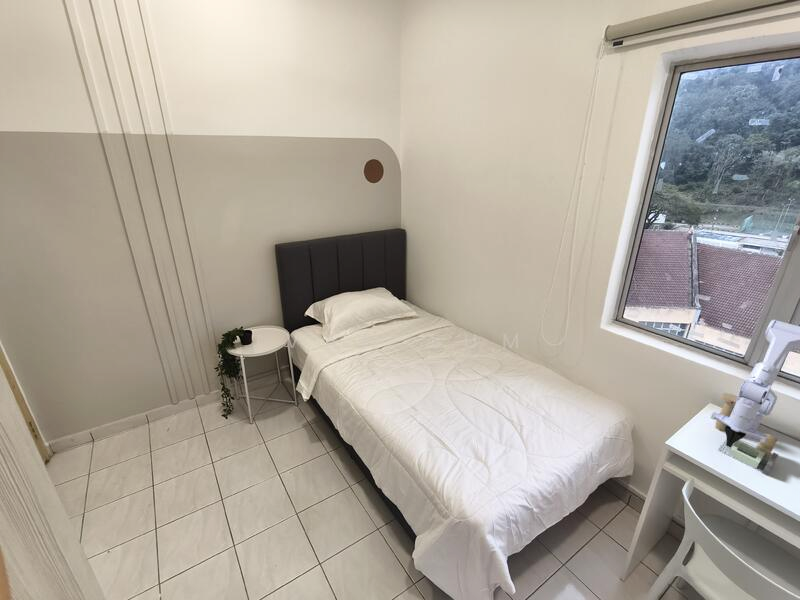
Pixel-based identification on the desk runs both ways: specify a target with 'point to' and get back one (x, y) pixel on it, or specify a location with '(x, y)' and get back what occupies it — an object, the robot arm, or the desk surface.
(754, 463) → the collar block
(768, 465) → the board
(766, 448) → the dowel
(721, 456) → the desk surface
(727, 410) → the handle
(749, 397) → the robot arm
